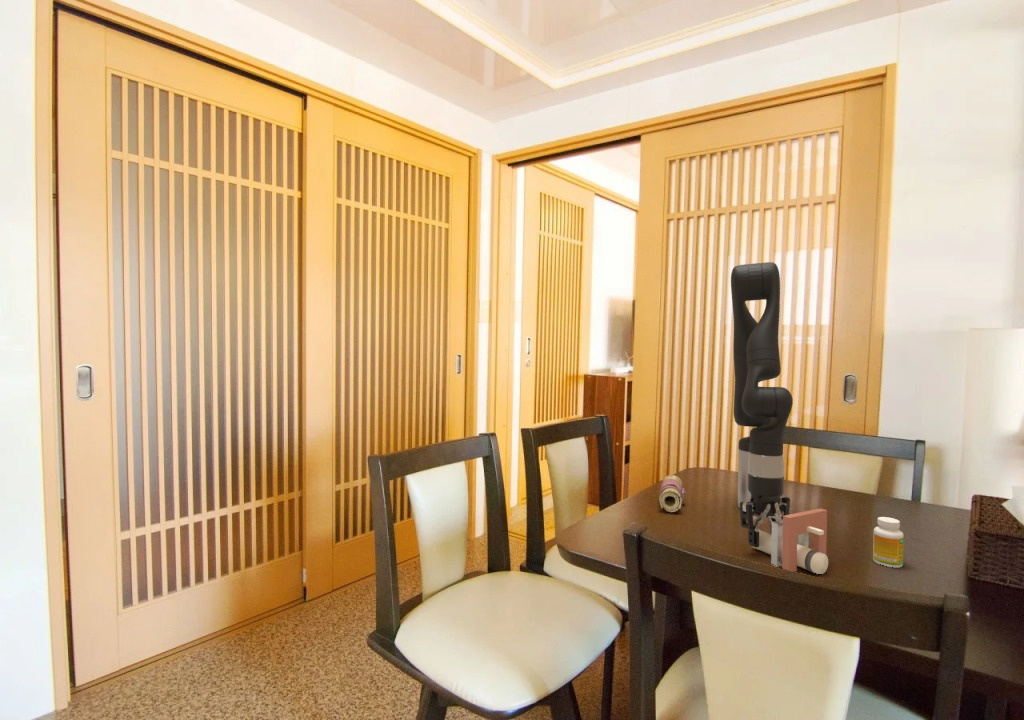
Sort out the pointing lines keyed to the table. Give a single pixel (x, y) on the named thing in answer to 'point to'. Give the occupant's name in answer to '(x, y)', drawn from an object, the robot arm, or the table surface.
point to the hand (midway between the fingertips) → (764, 543)
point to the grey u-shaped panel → (777, 542)
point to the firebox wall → (800, 525)
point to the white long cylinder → (798, 554)
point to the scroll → (671, 493)
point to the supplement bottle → (888, 543)
